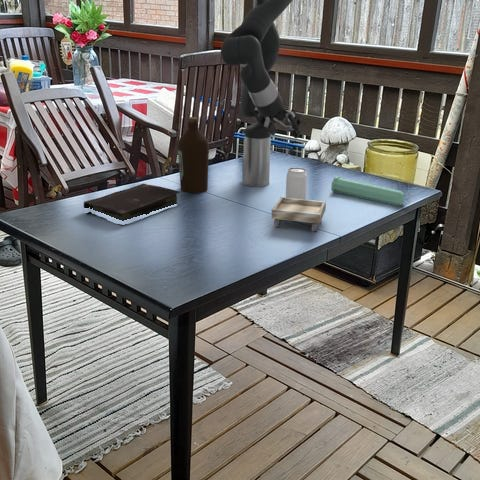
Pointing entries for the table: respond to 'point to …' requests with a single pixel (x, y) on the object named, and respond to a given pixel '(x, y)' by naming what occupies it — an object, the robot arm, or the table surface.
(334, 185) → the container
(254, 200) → the table surface
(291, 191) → the can
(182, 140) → the olive oil
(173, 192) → the diary
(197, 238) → the table surface
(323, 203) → the shallow wooden tray
